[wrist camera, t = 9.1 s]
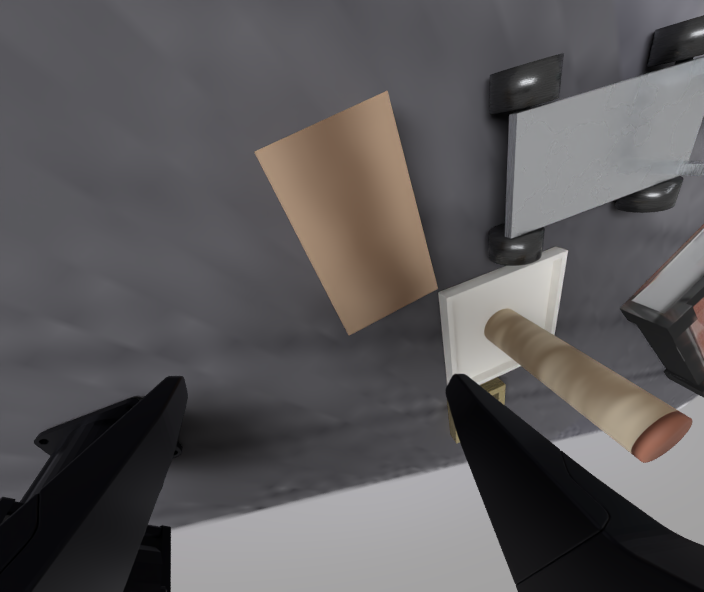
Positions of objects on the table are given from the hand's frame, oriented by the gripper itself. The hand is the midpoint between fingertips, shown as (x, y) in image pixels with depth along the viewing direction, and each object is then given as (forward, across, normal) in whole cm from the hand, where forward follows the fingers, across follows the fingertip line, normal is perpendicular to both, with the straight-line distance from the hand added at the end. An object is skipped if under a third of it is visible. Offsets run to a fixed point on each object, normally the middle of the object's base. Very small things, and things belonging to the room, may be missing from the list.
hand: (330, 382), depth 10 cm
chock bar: (+12, -2, -2) cm, 13 cm away
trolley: (+15, -19, -8) cm, 26 cm away
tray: (+13, -18, +7) cm, 24 cm away
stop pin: (+12, -18, +7) cm, 23 cm away
